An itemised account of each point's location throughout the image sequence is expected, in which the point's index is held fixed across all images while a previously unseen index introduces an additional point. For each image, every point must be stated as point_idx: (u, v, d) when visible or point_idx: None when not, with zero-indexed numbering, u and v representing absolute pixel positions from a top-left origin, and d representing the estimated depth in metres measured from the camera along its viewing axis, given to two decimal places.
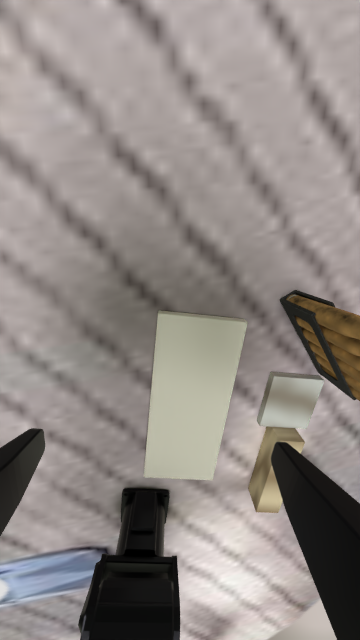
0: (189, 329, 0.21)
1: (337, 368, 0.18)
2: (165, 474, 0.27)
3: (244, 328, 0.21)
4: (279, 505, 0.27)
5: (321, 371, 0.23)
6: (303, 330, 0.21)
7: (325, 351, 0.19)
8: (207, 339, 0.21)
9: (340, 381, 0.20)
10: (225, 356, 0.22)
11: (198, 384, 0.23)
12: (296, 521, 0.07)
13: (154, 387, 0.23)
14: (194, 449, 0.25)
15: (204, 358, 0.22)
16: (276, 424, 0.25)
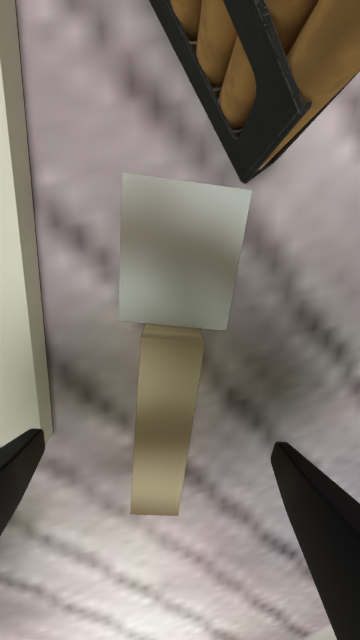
0: None
1: None
2: None
3: None
4: (177, 500, 0.13)
5: (239, 152, 0.09)
6: None
7: None
8: None
9: (256, 58, 0.06)
10: None
11: None
12: (296, 521, 0.07)
13: None
14: None
15: None
16: (155, 317, 0.11)
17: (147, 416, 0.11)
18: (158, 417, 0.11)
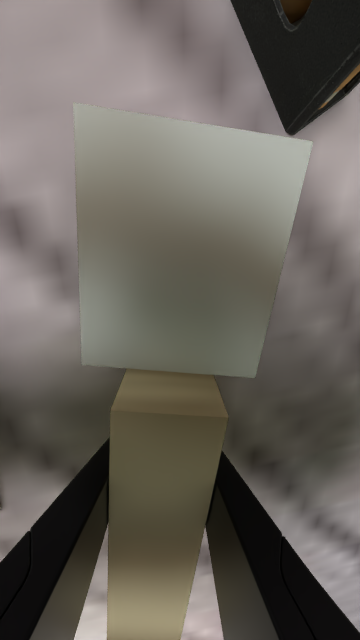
0: None
1: None
2: None
3: None
4: (177, 630, 0.08)
5: (294, 63, 0.05)
6: None
7: None
8: None
9: None
10: None
11: None
12: (207, 519, 0.06)
13: None
14: None
15: None
16: (142, 359, 0.07)
17: (127, 528, 0.06)
18: (145, 529, 0.06)
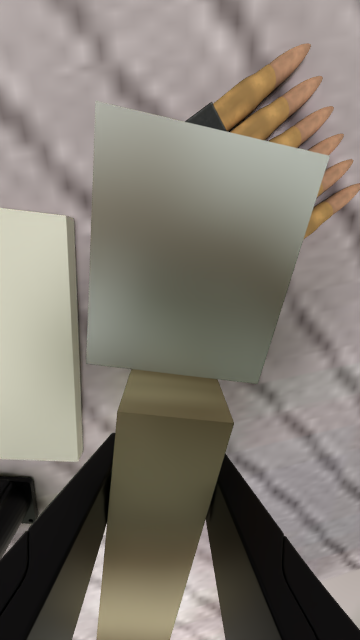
0: None
1: None
2: (9, 454, 0.20)
3: (63, 226, 0.14)
4: (168, 630, 0.08)
5: None
6: None
7: None
8: (11, 243, 0.14)
9: None
10: (46, 272, 0.15)
11: (18, 318, 0.16)
12: (208, 519, 0.06)
13: None
14: (40, 417, 0.19)
15: (15, 276, 0.15)
16: (148, 360, 0.07)
17: (125, 529, 0.06)
18: (144, 530, 0.06)
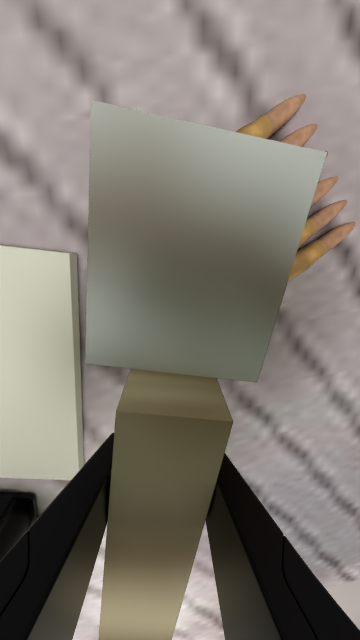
0: None
1: None
2: (13, 473, 0.20)
3: (67, 262, 0.15)
4: (169, 629, 0.08)
5: None
6: None
7: None
8: (17, 279, 0.15)
9: None
10: (50, 305, 0.16)
11: (23, 348, 0.16)
12: (208, 519, 0.06)
13: None
14: (43, 439, 0.19)
15: (20, 308, 0.15)
16: (147, 360, 0.07)
17: (125, 528, 0.06)
18: (144, 529, 0.06)
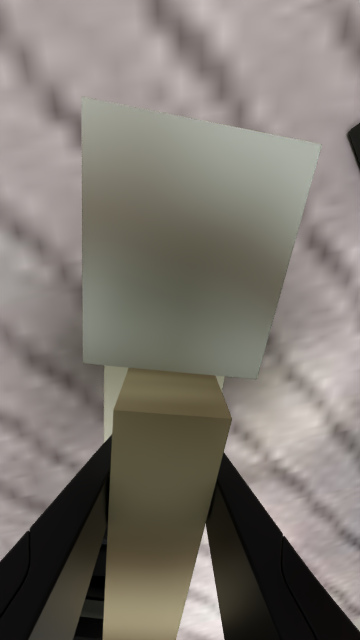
0: None
1: None
2: None
3: None
4: (173, 629, 0.08)
5: None
6: None
7: None
8: None
9: None
10: None
11: None
12: (207, 519, 0.06)
13: None
14: None
15: None
16: (144, 358, 0.07)
17: (126, 528, 0.06)
18: (145, 529, 0.06)
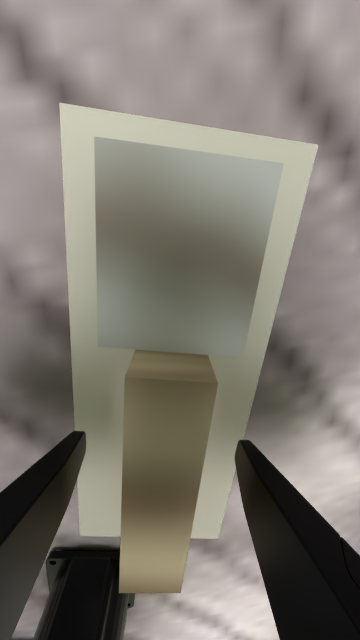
0: None
1: None
2: None
3: (308, 165, 0.08)
4: (179, 576, 0.10)
5: None
6: None
7: None
8: None
9: None
10: None
11: None
12: (251, 520, 0.07)
13: (77, 339, 0.09)
14: None
15: None
16: (148, 341, 0.08)
17: (136, 479, 0.08)
18: (152, 480, 0.08)
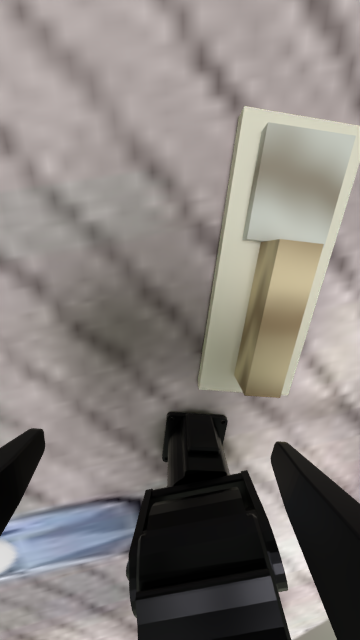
0: None
1: None
2: (227, 385, 0.20)
3: None
4: (281, 383, 0.17)
5: None
6: None
7: None
8: None
9: None
10: None
11: None
12: (296, 521, 0.07)
13: (226, 241, 0.16)
14: None
15: None
16: (274, 236, 0.15)
17: (272, 305, 0.15)
18: (280, 306, 0.15)
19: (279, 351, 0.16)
